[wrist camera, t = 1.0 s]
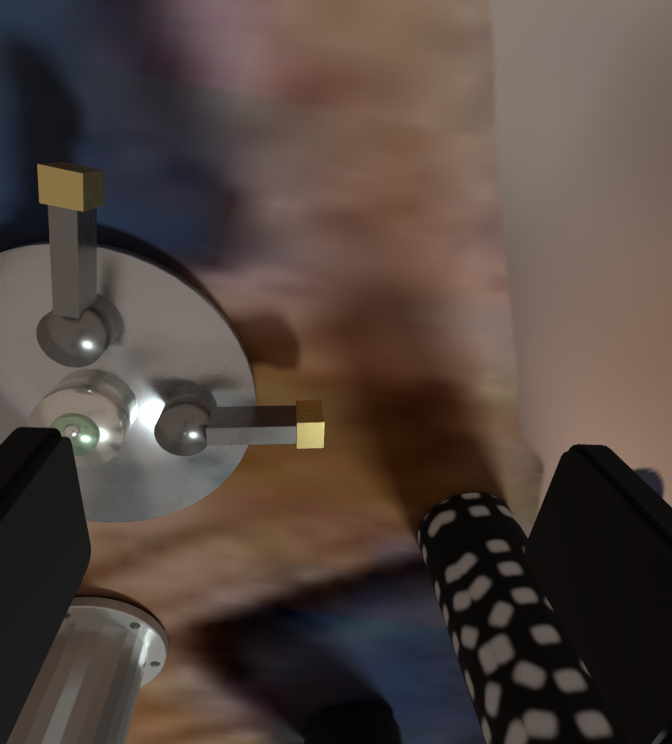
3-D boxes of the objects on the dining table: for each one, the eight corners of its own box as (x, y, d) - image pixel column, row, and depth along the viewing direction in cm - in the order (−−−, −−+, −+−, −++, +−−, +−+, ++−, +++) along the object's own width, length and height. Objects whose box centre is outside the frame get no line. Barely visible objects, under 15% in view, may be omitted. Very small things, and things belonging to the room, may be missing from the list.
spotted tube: (518, 487, 38) (729, 794, 20) (504, 559, 42) (671, 871, 24) (420, 497, 37) (546, 823, 19) (415, 569, 41) (517, 897, 23)
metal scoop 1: (121, 349, 27) (100, 375, 24) (62, 340, 26) (33, 366, 23) (124, 172, 23) (100, 177, 20) (55, 157, 22) (19, 160, 19)
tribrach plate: (119, 550, 36) (94, 611, 32) (-142, 380, 28) (-229, 429, 23) (315, 407, 32) (321, 452, 28) (78, 160, 24) (28, 165, 19)
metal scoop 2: (169, 428, 30) (155, 462, 27) (162, 385, 28) (147, 415, 25) (319, 425, 31) (323, 457, 28) (320, 383, 29) (324, 412, 26)
